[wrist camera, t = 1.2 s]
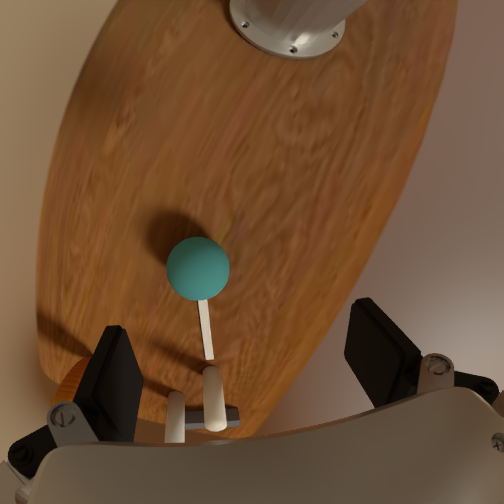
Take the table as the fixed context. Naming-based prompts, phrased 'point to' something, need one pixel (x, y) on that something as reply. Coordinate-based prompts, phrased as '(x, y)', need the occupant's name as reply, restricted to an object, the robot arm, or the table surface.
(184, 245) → the ball
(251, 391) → the table surface
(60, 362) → the table surface
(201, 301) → the lane line
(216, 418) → the ivory pin
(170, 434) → the white cylinder rod
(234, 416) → the wall
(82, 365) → the carrot
